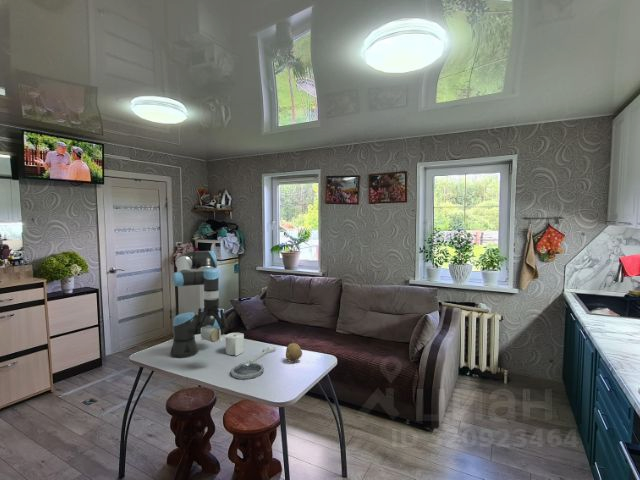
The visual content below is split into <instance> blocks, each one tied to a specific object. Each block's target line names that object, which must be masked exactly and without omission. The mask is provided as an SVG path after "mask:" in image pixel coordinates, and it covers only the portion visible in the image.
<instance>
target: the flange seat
mask: <svg viewBox="0 0 640 480" xmlns="http://www.w3.org/2000/svg"><path fill="white" fill-rule="evenodd" d="M264 371H265V368H264V366H263V364H260V363H258V362H253V363H247V362H244V363H240V364H237V365H234V366H233V367H232V368H231V369H230V374H231V377H233V378H234V379H236V380H251V379H256V378H259V377H260V376H261V375H263V373H264Z"/></svg>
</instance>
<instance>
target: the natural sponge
mask: <svg viewBox="0 0 640 480" xmlns="http://www.w3.org/2000/svg"><path fill="white" fill-rule="evenodd" d="M302 357H303V350H302V349H301V346H300V345H299V344H297V343H296V342H293V343H292V342H291V343H289V344H288V345H287V347H286V349H285V359H286V360H288V361H290V362H295V361H297V360H299V359H300V358H302Z"/></svg>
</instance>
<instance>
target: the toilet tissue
mask: <svg viewBox="0 0 640 480" xmlns="http://www.w3.org/2000/svg"><path fill="white" fill-rule="evenodd" d="M244 339H245V335H244V333H242V332H231V333H227V334H226V335H225V354H227V355H231V356H235V357H236V356H239V355H241V354H242V353H244V352H245V340H244Z"/></svg>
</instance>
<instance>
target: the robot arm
mask: <svg viewBox="0 0 640 480" xmlns="http://www.w3.org/2000/svg"><path fill="white" fill-rule="evenodd" d="M217 260H218V259H217V255H216V252H215V251H213V250H196V251H195V250H193V251H186V252H184V253H181V254H180V255H179V256H178V257H177V258H176V260H175V267H176V268H177V271H176V272H173V286H174V287H189V286H190V287H191V286H199V303H200V305H199V307H200V308H198V311H197V314H195V312H193V311H190V312H189V311H188V312H183V313H179V314H177V315H176V316H174V318H173V323H172V326H173V328H172V329H173V331H172V332H173V343H172V345H171V348H170V353H169V354H170V357H172V358H176V359H184V358H190V357H194V356H195V355H196V354H198V352H199V346H198V344H197V342H196V337H195V335H201V331H202V329H203V328H204V327H205V326H207V325H210V326H213V327H215V328H218V329H219V340H218V342H220V343H221V342H223V340H224V334H225V329H227V328H228V327H229V324H228V322H227V318H226V312H225V308H220V307H219V306H220V300H219V298H220V293H219V291H220V290H219V288H220V287H219V279H220V274H219V269H217V268H218V261H217ZM192 270H195V271H192ZM203 340H204V339H203V338H202V337H201V336H200V341H203Z"/></svg>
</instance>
